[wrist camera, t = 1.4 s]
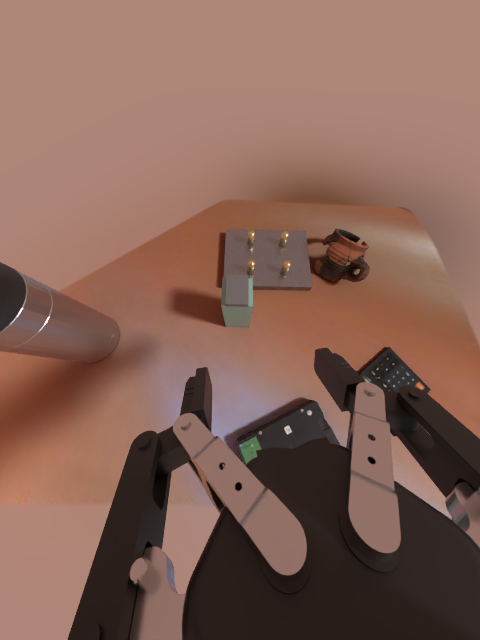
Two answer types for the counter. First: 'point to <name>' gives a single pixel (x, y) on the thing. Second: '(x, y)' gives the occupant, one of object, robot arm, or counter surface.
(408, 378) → the calculator
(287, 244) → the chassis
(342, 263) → the pottery mug
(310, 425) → the disk drive
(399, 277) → the counter surface
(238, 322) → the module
